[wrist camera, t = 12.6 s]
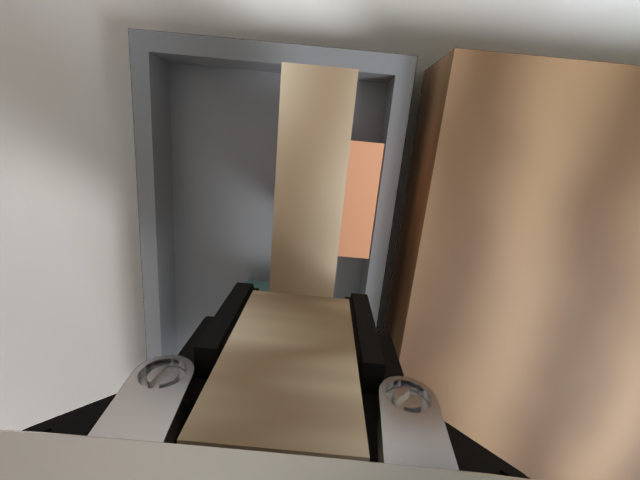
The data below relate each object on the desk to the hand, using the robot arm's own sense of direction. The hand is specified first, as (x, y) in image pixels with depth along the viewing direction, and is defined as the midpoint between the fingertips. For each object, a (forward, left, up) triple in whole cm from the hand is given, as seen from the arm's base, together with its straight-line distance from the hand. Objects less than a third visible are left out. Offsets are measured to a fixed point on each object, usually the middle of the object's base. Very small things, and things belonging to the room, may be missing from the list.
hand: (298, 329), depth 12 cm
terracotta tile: (-2, -4, -5) cm, 7 cm away
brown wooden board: (-13, 0, -8) cm, 15 cm away
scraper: (0, 0, -2) cm, 2 cm away
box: (+2, 0, -8) cm, 8 cm away
